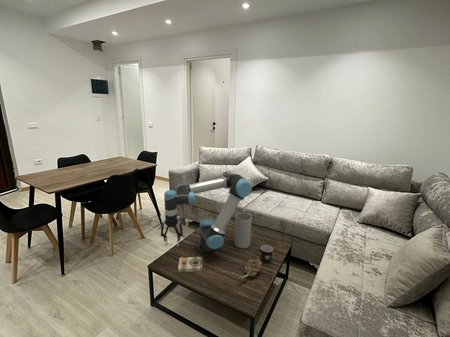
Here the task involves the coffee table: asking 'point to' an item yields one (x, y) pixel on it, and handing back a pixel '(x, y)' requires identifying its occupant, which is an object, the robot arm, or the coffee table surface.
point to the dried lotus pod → (252, 268)
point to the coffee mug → (265, 253)
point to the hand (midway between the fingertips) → (172, 244)
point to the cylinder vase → (243, 230)
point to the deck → (190, 264)
